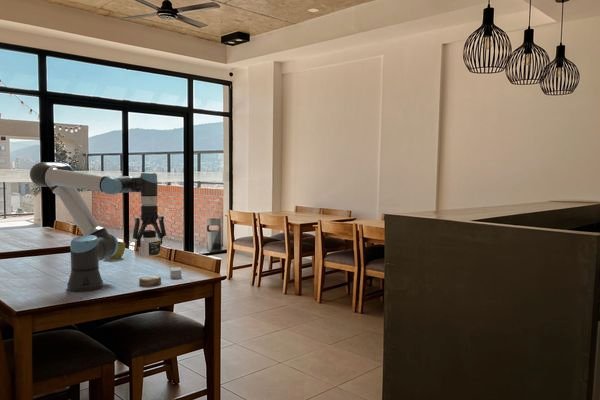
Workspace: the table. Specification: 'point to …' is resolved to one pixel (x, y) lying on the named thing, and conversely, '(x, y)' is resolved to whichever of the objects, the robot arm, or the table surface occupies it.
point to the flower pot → (119, 250)
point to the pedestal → (150, 281)
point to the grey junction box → (175, 272)
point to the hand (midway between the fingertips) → (149, 252)
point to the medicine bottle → (150, 244)
